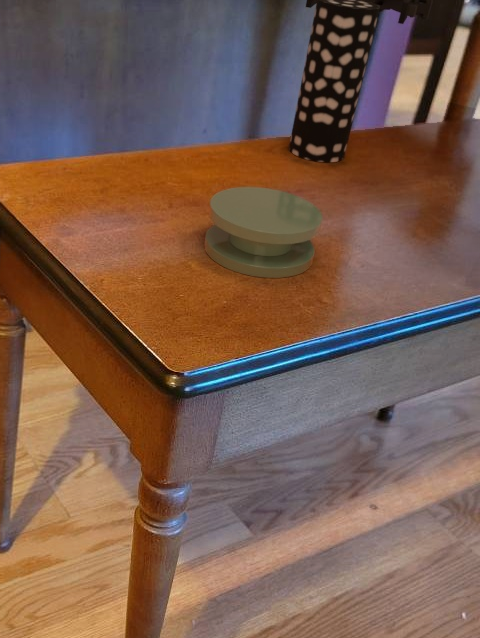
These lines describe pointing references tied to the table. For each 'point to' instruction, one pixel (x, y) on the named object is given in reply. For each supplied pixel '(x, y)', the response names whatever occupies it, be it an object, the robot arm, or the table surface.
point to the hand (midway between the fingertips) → (355, 5)
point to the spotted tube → (332, 78)
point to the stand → (262, 232)
